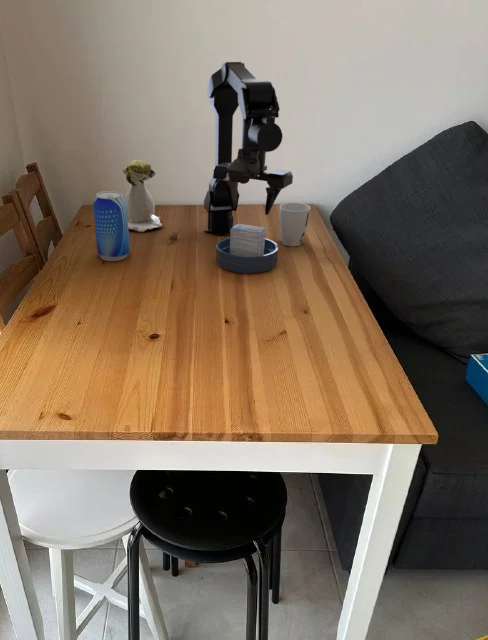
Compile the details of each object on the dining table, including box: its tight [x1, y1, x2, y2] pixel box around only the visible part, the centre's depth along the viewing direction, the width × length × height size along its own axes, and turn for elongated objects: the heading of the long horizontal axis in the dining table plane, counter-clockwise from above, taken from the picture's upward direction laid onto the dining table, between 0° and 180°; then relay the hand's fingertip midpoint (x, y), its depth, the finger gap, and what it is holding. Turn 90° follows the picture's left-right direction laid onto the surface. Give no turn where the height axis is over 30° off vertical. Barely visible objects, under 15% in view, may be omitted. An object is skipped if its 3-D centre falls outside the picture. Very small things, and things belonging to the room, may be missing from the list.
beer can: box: [92, 190, 131, 262], centre depth 151 cm, size 8×8×16 cm
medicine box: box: [229, 223, 267, 256], centre depth 149 cm, size 8×4×9 cm, turn 65°
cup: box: [279, 202, 311, 247], centre depth 161 cm, size 8×8×10 cm
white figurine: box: [122, 159, 163, 233], centre depth 172 cm, size 12×13×18 cm
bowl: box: [215, 236, 280, 274], centre depth 150 cm, size 16×16×4 cm
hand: (249, 211), depth 144 cm, fingers open, 9 cm apart
